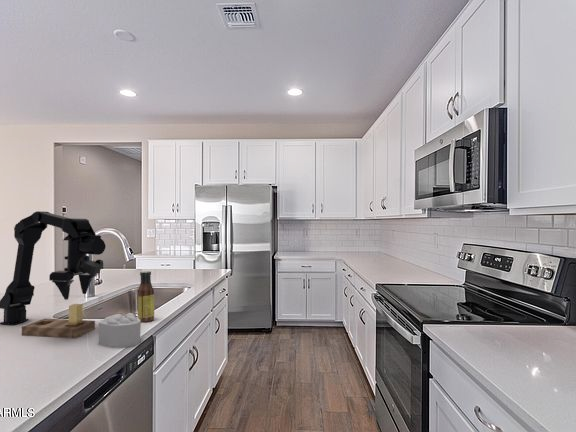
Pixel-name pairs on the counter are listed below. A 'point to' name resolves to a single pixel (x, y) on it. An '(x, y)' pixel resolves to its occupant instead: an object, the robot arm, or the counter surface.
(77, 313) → the pin
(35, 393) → the counter surface
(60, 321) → the mount board
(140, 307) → the sauce bottle
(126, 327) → the lumpy-topped squat cylinder
